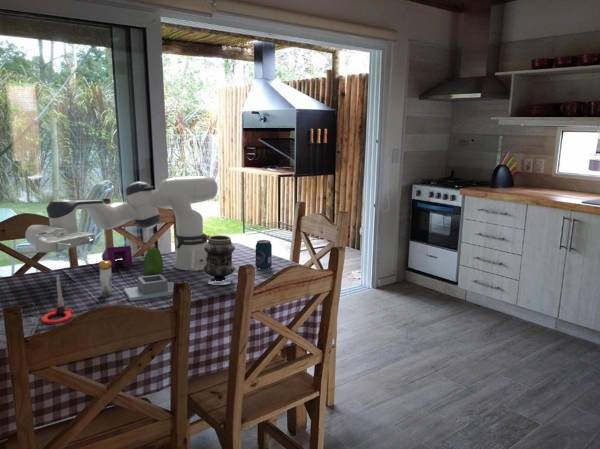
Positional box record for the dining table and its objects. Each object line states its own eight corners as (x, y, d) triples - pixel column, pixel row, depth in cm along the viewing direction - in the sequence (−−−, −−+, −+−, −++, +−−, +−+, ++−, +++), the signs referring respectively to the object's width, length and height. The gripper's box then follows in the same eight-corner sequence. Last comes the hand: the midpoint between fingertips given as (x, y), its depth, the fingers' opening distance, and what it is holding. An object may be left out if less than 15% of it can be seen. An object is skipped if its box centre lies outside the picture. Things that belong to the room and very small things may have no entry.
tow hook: (66, 324, 148) (76, 312, 156) (62, 284, 144) (72, 274, 153) (37, 326, 146) (48, 313, 155) (32, 285, 143) (44, 275, 152)
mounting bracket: (102, 275, 215) (109, 267, 200) (100, 257, 216) (106, 247, 201) (124, 272, 220) (133, 264, 205) (122, 254, 221) (130, 245, 206)
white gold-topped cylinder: (111, 292, 176) (110, 260, 174) (113, 295, 173) (112, 262, 170) (99, 293, 174) (98, 261, 172) (101, 297, 171) (99, 264, 168)
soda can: (252, 268, 210) (252, 241, 208) (262, 265, 216) (262, 238, 213) (264, 271, 206) (265, 244, 204) (274, 268, 212) (275, 241, 210)
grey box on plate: (173, 284, 186) (172, 271, 185) (181, 293, 176) (181, 279, 175) (124, 291, 177) (123, 278, 176) (130, 301, 168) (129, 286, 167)
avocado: (166, 276, 196) (165, 247, 193) (148, 280, 191) (147, 250, 188) (157, 272, 202) (157, 244, 199) (139, 275, 196) (138, 246, 194)
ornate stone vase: (239, 284, 188) (240, 239, 185) (210, 288, 182) (209, 242, 179) (227, 276, 199) (227, 233, 195) (199, 280, 192) (198, 235, 189)
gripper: (82, 242, 192) (105, 247, 186) (32, 252, 175) (55, 258, 168) (81, 226, 191) (104, 231, 184) (30, 235, 174) (54, 240, 167)
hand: (81, 244), depth 176 cm, fingers open, 8 cm apart
